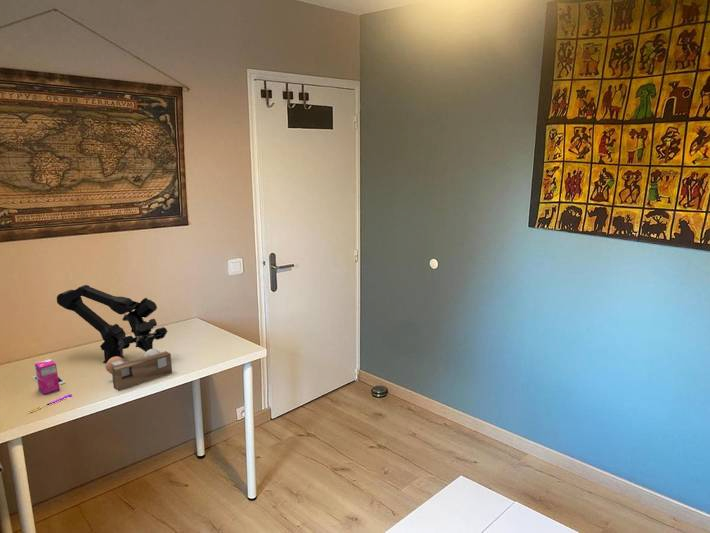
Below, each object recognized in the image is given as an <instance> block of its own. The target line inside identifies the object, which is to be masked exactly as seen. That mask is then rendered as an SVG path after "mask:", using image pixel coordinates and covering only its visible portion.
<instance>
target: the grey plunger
mask: <svg viewBox="0 0 710 533" xmlns="http://www.w3.org/2000/svg"><path fill="white" fill-rule="evenodd" d="M157 353H161V352H160V350H158V349H157V348H153V349H149V350H148V351H147V352H145V353H144V355H143V357H147V356H150V355H154V354H157ZM156 361H157V368H161V367H164V366H167V362H166V357H162V358H159V359H156Z"/></svg>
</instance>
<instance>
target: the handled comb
mask: <svg viewBox="0 0 710 533" xmlns="http://www.w3.org/2000/svg"><path fill="white" fill-rule="evenodd" d="M67 397H73V394H71V393H69V394H67V395H64V396H63V397H60V398H57V399H56V400H52V401H50V402H48V403H47V404H46V405H49V404H52V403H54V404H56V403H55V402H57V401H59V400H62V399H64V398H67ZM64 400H65V399H64ZM62 401H63V400H62ZM59 402H60V401H59ZM57 403H58V402H57ZM52 405H53V404H52ZM49 406H50V405H49ZM39 408H41V407H40V406H39V407H35V408H33V409H31V410H29V411H28V412H31V411H34V410H36V409H39Z"/></svg>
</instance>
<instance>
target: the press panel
mask: <svg viewBox="0 0 710 533" xmlns="http://www.w3.org/2000/svg"><path fill="white" fill-rule="evenodd" d="M162 357H166V362H167V366H164V367H161V368H157V361H156V359H159V358H162ZM128 367H129V371H130V375H127V376H123V377H122V374H121V370H122V369H125V368H128ZM171 374H173V369H172V355H171V352H168V351H166V350H165V351H162V352H160V353H157V354H154V355H150V356H147V357H144V356H143V357H141V358H137V359H134V360H129V361H125V363H123V364H119V365H116V366H112V374H111V375H112V376H111V377H112V386H113V388H114V389H115V390H116V391H117V390H118V391H122V390H125V389H127V388H132V387H134V386H138V385H141V384H143V383H147V382H149V381H152V380H156V379H159V378H162V377H165V376H168V375H171ZM131 386H132V387H131ZM118 391H117V392H118Z"/></svg>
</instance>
